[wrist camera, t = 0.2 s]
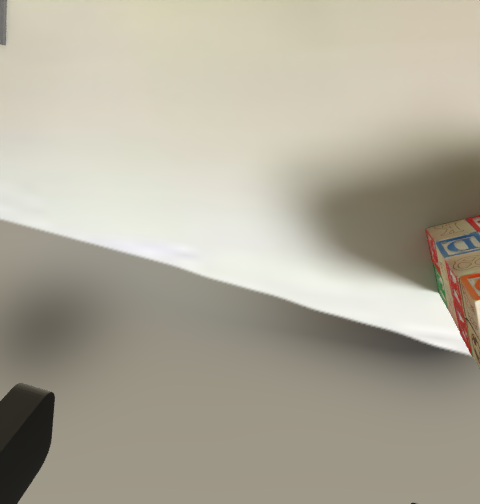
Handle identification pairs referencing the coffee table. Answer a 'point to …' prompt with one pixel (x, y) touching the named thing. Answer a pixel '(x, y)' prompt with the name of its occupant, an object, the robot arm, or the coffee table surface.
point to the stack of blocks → (459, 275)
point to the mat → (3, 22)
